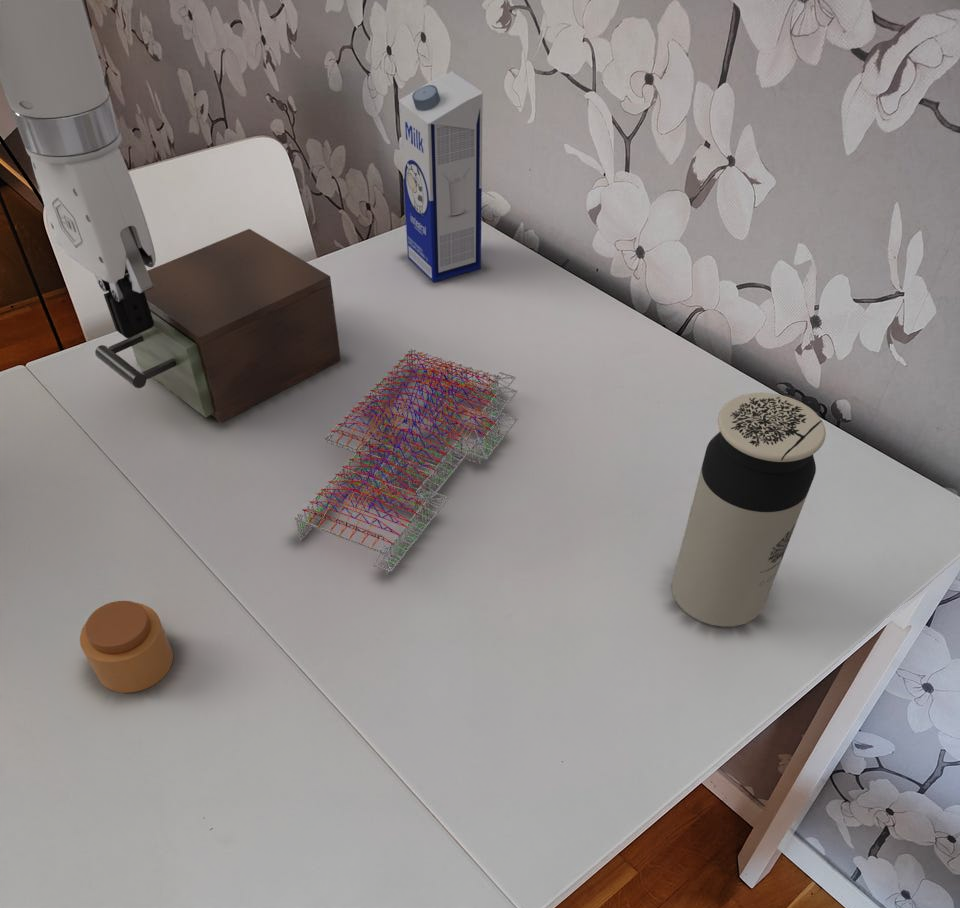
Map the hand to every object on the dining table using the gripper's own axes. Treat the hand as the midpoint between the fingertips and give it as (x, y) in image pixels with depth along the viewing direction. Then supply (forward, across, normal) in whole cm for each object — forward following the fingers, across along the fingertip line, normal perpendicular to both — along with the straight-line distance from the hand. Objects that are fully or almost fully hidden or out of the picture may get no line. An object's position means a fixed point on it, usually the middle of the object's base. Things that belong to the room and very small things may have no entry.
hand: (135, 329), depth 86 cm
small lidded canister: (+9, +28, -20) cm, 35 cm away
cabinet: (+9, 0, +11) cm, 14 cm away
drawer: (+8, 0, +6) cm, 10 cm away
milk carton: (+9, 0, +41) cm, 42 cm away
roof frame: (+9, +25, +12) cm, 29 cm away
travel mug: (+9, +56, +20) cm, 60 cm away
